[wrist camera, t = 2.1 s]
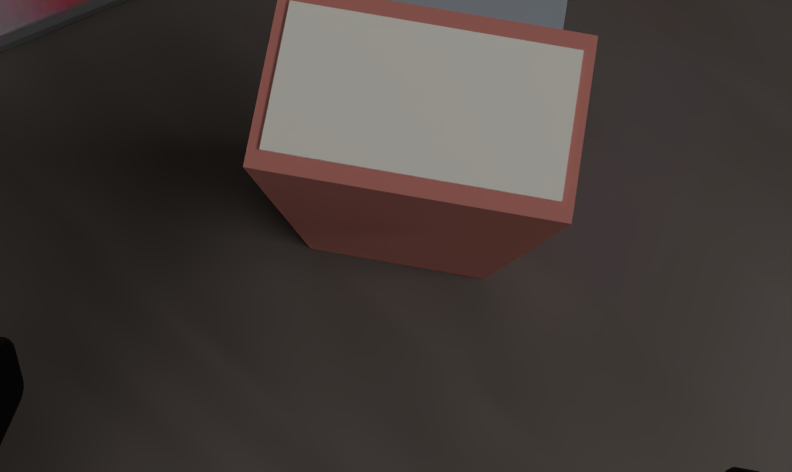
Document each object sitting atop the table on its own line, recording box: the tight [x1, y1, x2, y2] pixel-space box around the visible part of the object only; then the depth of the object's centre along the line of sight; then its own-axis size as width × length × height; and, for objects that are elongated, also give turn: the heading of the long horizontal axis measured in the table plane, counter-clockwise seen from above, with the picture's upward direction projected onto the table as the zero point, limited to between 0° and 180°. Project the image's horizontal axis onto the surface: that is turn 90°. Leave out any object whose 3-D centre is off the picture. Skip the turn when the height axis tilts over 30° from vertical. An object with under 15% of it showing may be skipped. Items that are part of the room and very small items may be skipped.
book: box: [243, 0, 598, 279], centre depth 16 cm, size 3×5×10 cm, turn 80°
